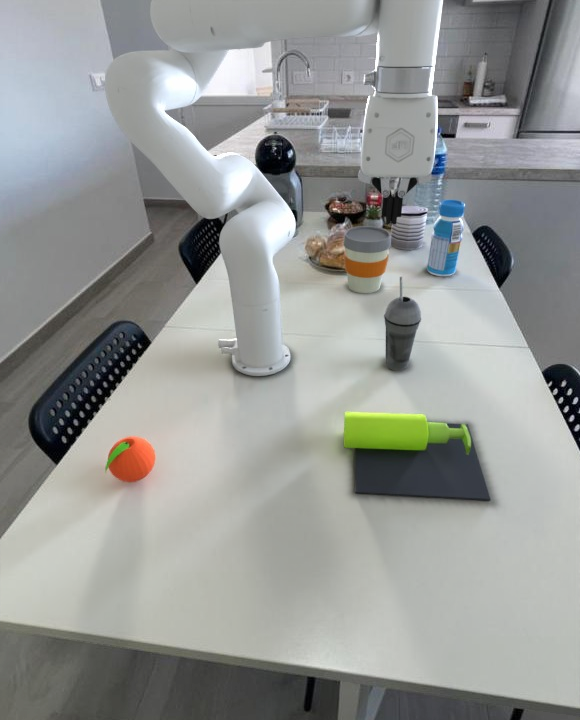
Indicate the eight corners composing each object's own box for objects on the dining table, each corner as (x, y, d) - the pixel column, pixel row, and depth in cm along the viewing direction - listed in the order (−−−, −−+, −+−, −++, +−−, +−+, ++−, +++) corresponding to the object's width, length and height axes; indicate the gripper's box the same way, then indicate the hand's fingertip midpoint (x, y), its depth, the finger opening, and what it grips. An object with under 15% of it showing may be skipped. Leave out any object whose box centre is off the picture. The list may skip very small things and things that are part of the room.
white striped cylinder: (388, 249, 147) (392, 212, 140) (389, 236, 156) (392, 202, 149) (424, 250, 146) (429, 214, 139) (422, 238, 155) (427, 203, 148)
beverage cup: (413, 376, 91) (427, 287, 80) (377, 372, 92) (386, 284, 81) (414, 356, 97) (427, 270, 85) (380, 352, 98) (388, 268, 87)
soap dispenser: (345, 432, 69) (476, 437, 68) (345, 404, 75) (466, 408, 74) (344, 459, 73) (469, 464, 71) (343, 430, 78) (459, 435, 77)
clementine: (128, 503, 67) (116, 471, 63) (99, 484, 70) (85, 452, 66) (168, 468, 72) (159, 436, 68) (139, 451, 75) (129, 420, 71)
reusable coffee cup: (393, 282, 127) (399, 230, 118) (374, 300, 118) (379, 246, 109) (354, 273, 132) (357, 222, 124) (333, 289, 124) (334, 236, 115)
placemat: (355, 493, 68) (355, 491, 68) (354, 420, 81) (354, 419, 81) (490, 500, 66) (490, 499, 66) (467, 425, 79) (467, 424, 79)
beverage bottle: (425, 275, 130) (435, 206, 119) (427, 264, 137) (437, 197, 125) (455, 278, 128) (468, 208, 117) (456, 267, 135) (469, 199, 123)
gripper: (346, 85, 56) (341, 229, 67) (467, 85, 55) (443, 230, 66) (346, 81, 62) (342, 213, 73) (455, 80, 61) (435, 214, 72)
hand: (390, 221), depth 69 cm, fingers closed
